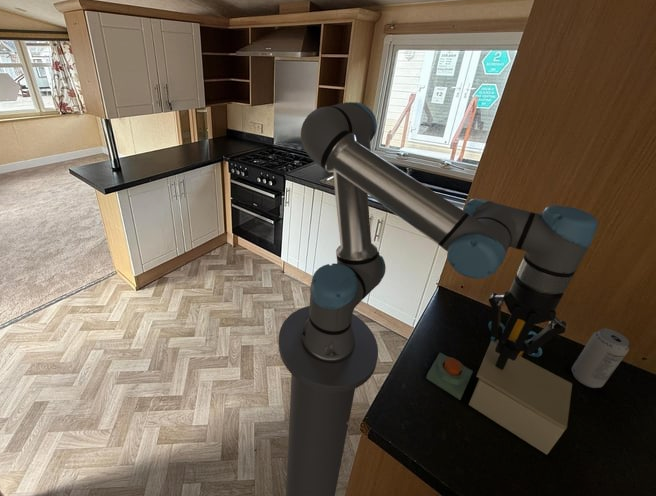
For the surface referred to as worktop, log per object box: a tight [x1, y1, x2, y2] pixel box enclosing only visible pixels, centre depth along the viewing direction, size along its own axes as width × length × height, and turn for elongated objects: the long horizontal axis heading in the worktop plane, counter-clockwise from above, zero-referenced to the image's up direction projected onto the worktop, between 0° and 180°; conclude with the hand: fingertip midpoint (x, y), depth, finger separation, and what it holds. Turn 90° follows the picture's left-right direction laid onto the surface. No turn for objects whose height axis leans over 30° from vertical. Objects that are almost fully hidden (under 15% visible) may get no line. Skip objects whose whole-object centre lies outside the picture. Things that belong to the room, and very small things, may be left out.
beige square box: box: [468, 378, 566, 456], centre depth 71 cm, size 15×13×9 cm
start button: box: [444, 357, 462, 375], centre depth 78 cm, size 4×4×2 cm
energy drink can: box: [571, 328, 630, 389], centre depth 76 cm, size 6×6×15 cm
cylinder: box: [487, 319, 543, 358], centre depth 82 cm, size 12×10×15 cm
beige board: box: [476, 340, 573, 431], centre depth 69 cm, size 15×13×1 cm
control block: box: [425, 352, 473, 401], centre depth 79 cm, size 8×9×4 cm
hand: (500, 364), depth 71 cm, fingers closed
